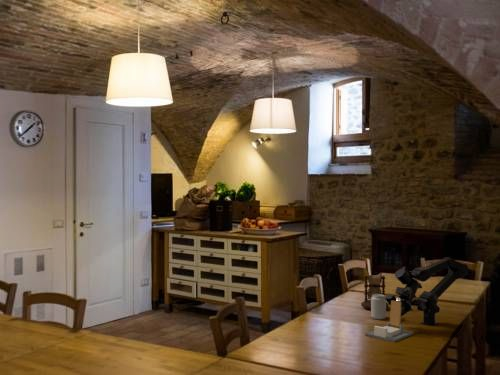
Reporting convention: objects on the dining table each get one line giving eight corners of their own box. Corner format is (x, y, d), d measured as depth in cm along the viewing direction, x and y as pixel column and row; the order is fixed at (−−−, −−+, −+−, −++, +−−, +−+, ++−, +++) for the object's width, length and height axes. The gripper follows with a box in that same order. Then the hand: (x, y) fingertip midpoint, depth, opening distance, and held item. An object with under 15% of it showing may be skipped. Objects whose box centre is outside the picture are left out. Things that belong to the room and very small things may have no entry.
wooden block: (390, 323, 256) (392, 300, 257) (400, 325, 252) (401, 302, 253) (389, 324, 255) (391, 300, 256) (399, 326, 252) (400, 302, 253)
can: (386, 320, 276) (386, 296, 276) (371, 319, 278) (371, 296, 278) (385, 316, 284) (385, 293, 283) (371, 315, 285) (370, 293, 285)
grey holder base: (384, 328, 262) (384, 317, 262) (413, 334, 251) (413, 323, 251) (365, 335, 250) (365, 324, 250) (394, 342, 239) (394, 331, 239)
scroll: (387, 305, 308) (387, 270, 308) (389, 312, 293) (389, 275, 293) (360, 304, 310) (360, 270, 310) (361, 311, 296) (361, 274, 296)
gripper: (386, 278, 266) (374, 304, 259) (422, 282, 253) (410, 310, 245) (395, 291, 272) (383, 317, 264) (430, 297, 259) (419, 324, 251)
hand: (398, 317), depth 256 cm, fingers closed
